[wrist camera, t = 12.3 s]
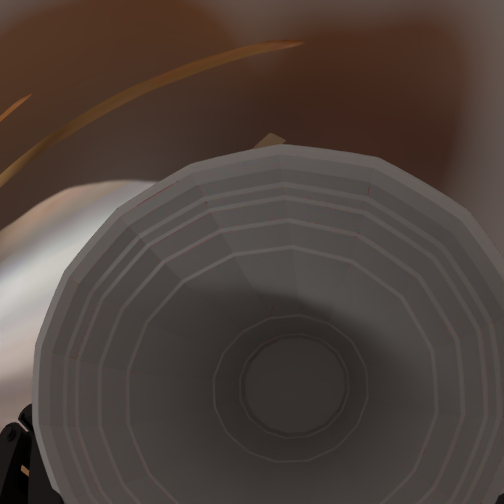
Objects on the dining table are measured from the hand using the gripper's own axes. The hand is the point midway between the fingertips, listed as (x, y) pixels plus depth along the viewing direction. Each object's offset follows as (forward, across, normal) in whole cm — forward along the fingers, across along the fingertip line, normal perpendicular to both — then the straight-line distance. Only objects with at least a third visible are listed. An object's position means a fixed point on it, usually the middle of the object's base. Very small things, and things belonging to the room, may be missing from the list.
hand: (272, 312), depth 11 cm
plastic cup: (+1, 0, -6) cm, 6 cm away
